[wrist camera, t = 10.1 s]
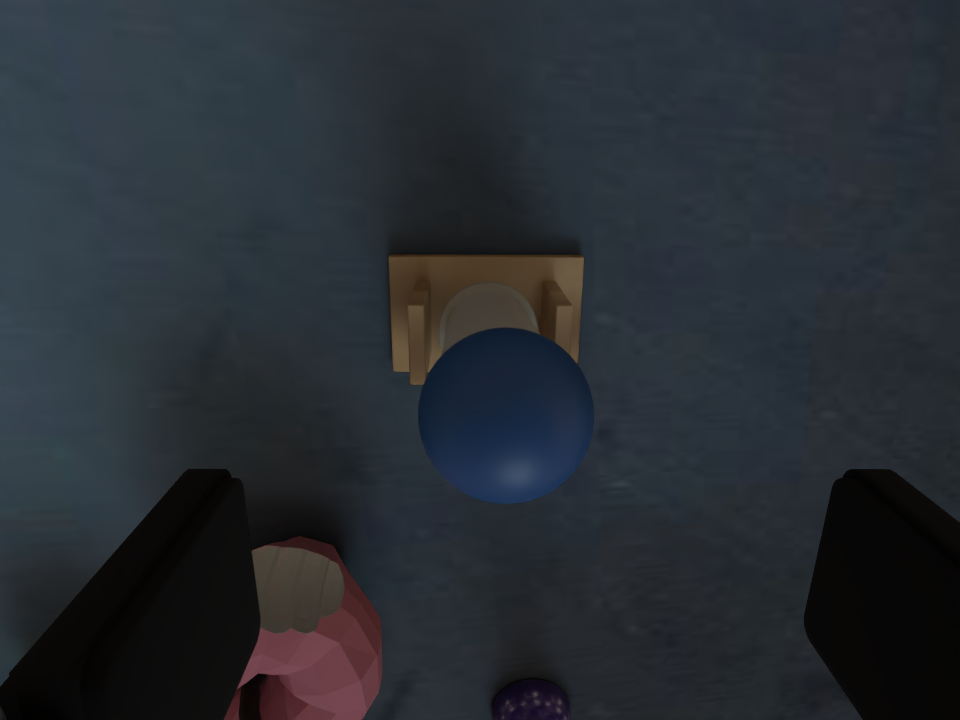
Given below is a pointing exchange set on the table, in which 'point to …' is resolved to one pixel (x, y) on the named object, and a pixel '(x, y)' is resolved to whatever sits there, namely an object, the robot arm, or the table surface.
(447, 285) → the rack
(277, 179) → the table surface
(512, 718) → the toy lamp
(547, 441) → the blue tipped lever
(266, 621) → the apple
